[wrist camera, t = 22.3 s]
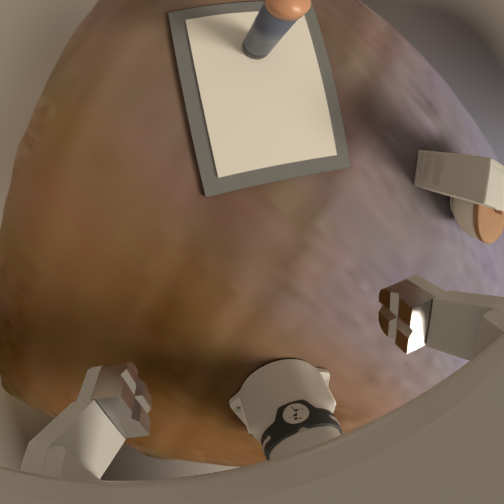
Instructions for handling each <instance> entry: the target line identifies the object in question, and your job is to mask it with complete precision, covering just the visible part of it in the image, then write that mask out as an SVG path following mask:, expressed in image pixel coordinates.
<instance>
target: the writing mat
mask: <svg viewBox="0 0 504 504" xmlns="http://www.w3.org/2000/svg"><path fill="white" fill-rule="evenodd" d="M263 4H264V1H256V2H239V3H228V4H218V5H210V6H203V7H197V8H191V9H185V10H180V11H175V12H170V13H168V15H169V21H170V27H171V33H172V38H173V44H174V49H175V55H176V60H177V66H178V71H179V76H180V81H181V86H182V91H183V96H184V101H185V106H186V111H187V116H188V121H189V125H190V130H191V135H192V139H193V144H194V148H195V153H196V157H197V162H198V166H199V171H200V175H201V180H202V184H203V188H204V193H205V197H209V196H213V195H217V194H221V193H225V192H230V191H234V190H238V189H243V188H247V187H251V186H256V185H261V184H265V183H270V182H275V181H279V180H284V179H289V178H294V177H299V176H305V175H310V174H315V173H321V172H326V171H332V170H338V169H344V168H350V161H349V155H348V149H347V142H346V137H345V131H344V126H343V120H342V115H341V110H340V105H339V100H338V96H337V91H336V87H335V82H334V78H333V74H332V70H331V66H330V62H329V58H328V55H327V51H326V47H325V44H324V40H323V37H322V33H321V30H320V27H319V23H318V20H317V17H316V14H315V11H314V8H313V5H312V2H311V6H310V9H309V10H308V11H307V12H306V13H305V14H304V15H303V16H302V17H301V18H300V19H298V20H297V21H296V22H295V24H294V25H293V26H292V27H291V28H290V29H289V30H288V32H287V33H286V34H285V35H284V36H283V37H282V39H281V40H280V41H279V42H278V43H277V44H276V46H275V47H274V48H273V49H272V50H271V52H270V53H269V54H268V55H267V56H266V57H265V58H263V59H259V60H256V59H251V58H249V57H247V56H246V55H245V54H244V52H243V50H242V43H243V41H244V39H245V37H246V35H247V33H248V32H249V30H250V28H251V26H252V24H253V22H254V20H255V18H256V16H257V15H258V13H259V11H260V9H261V7H262V6H263Z"/></svg>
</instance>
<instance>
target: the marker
mask: <svg viewBox="0 0 504 504" xmlns="http://www.w3.org/2000/svg"><path fill="white" fill-rule="evenodd" d="M310 6H311V0H265V1H264V4H263V6H262V7H261V9H260V11H259V13H258V15H257V16H256V18H255V20H254V22H253V24H252V26H251V28H250V30H249V32H248V33H247V35H246V37H245V39H244V41H243V43H242V50H243V52H244V54H245V55H246V56H247V57H249V58H251V59H256V60H259V59H263V58H265V57H266V56H267V55H268V54H269V53H270V52H271V50H272V49H273V48H274V47H275V46H276V44H277V43H278V42H279V41H280V40H281V39H282V37H283V36H284V35H285V34H286V33H287V32H288V30H289V29H290V28H291V27H292V26H293V25H294V24H295V22H296V21H297V20H298V19H300V18H301V17H302V16H303V15H304V14H305V13H306V12H307V11H308V10H309V9H310Z"/></svg>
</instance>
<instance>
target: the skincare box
mask: <svg viewBox="0 0 504 504" xmlns="http://www.w3.org/2000/svg"><path fill="white" fill-rule="evenodd" d="M414 186H417V187H420V188H423V189H426V190H429V191H433V192H436V193H439V194H443V195H447V196H450V197H454V198H457V199H461V200H464V201H468V202H471V203H475V204H479V205H482V206H486V207H489V208H493V209H496V210H500V211H503V212H504V166H503V165H502V164H500V163H498V162H497V161H495V160H494V159H492V158H487V157H480V156H473V155H465V154H457V153H448V152H438V151H426V150H418V157H417V166H416V173H415V181H414Z"/></svg>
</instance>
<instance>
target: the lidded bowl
mask: <svg viewBox="0 0 504 504" xmlns="http://www.w3.org/2000/svg"><path fill="white" fill-rule="evenodd" d="M450 208H451V211H452V214H453V215H454V218H455V220H456V222H457V224H458V225H459V226H460V228H461V229H462V230H463V231H465V232H466V233H467V234H469V235H470V236H472V237H474V238H476V239H478V240H480V241H482V242H484V243H487V244H491V243H493V242H494V241H496V240H497V239H498V237H499V236H500V235H501V233H502V231H503V229H504V212H503V211H500V210H496V209H493V208H489V207H486V206H482V205H479V204H475V203H471V202H468V201H464V200H461V199H457V198H454V197H450Z"/></svg>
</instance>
